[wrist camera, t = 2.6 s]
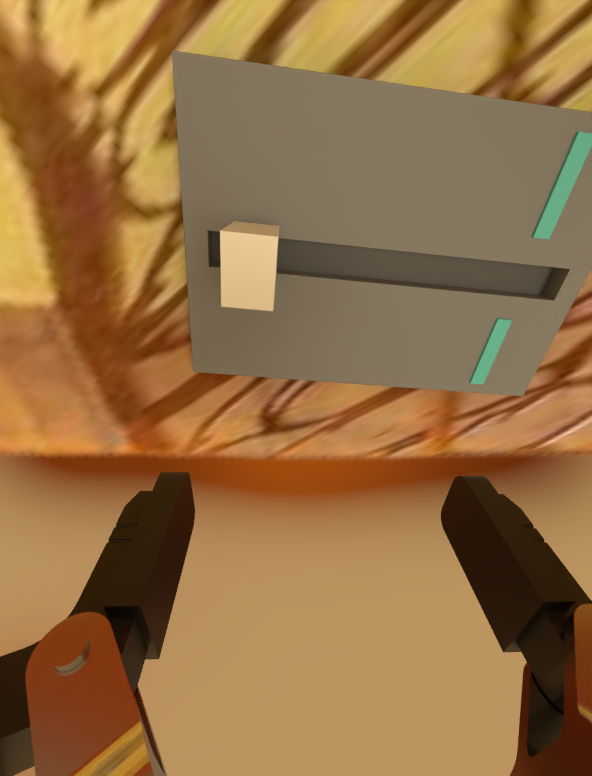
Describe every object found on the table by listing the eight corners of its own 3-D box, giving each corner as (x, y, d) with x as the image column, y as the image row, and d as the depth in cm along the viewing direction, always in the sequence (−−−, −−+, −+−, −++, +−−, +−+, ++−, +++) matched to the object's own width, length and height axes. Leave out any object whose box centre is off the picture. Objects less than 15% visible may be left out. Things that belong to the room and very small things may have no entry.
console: (183, 65, 20) (170, 49, 18) (632, 129, 23) (672, 123, 20) (199, 359, 30) (192, 373, 28) (507, 382, 33) (524, 397, 30)
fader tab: (237, 219, 23) (220, 230, 17) (279, 223, 24) (278, 236, 17) (236, 277, 25) (221, 306, 19) (275, 280, 26) (273, 311, 19)
